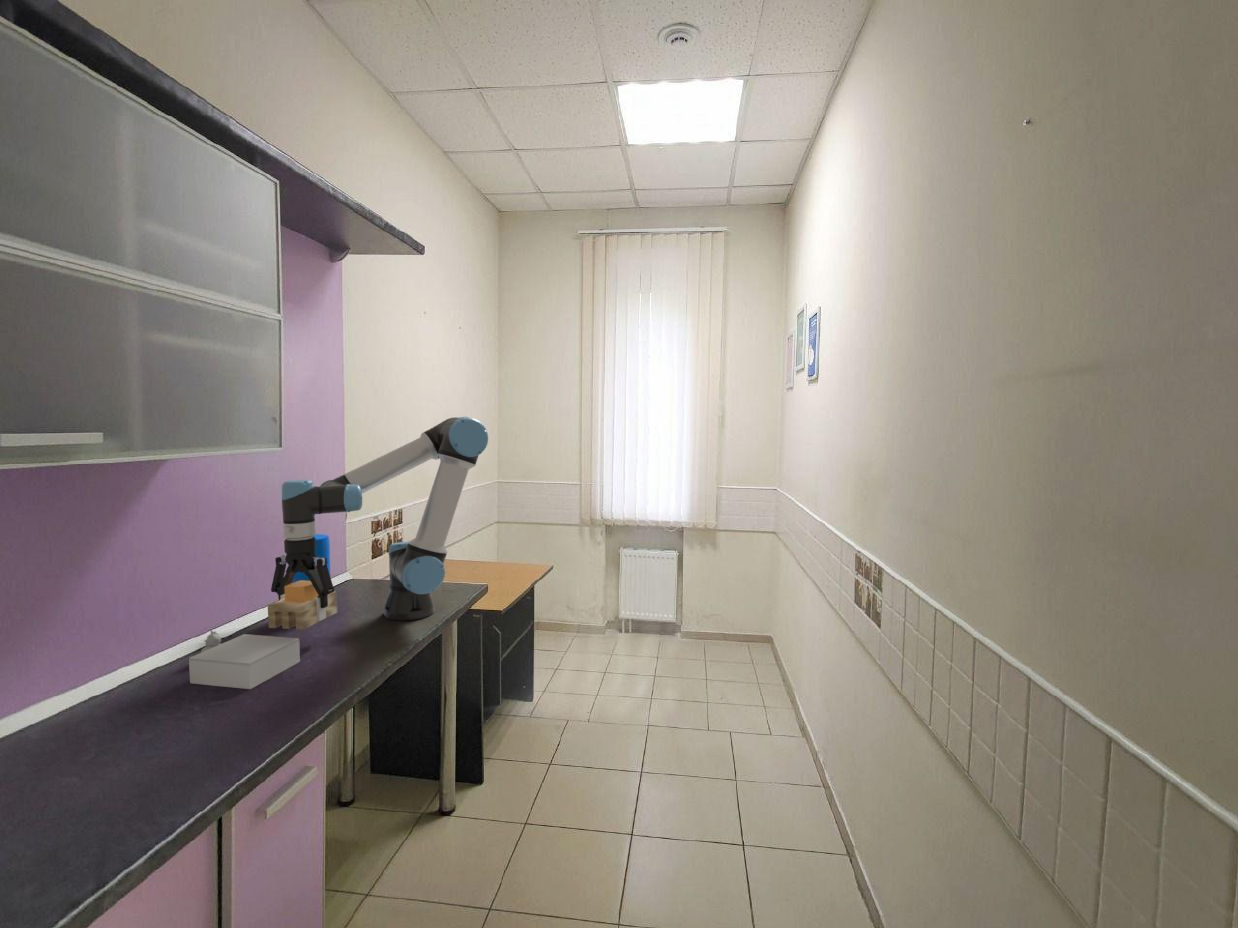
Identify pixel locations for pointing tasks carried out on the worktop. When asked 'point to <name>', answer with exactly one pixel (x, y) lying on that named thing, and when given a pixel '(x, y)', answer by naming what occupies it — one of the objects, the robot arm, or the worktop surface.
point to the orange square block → (300, 591)
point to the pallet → (298, 613)
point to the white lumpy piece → (212, 641)
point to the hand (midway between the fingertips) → (303, 618)
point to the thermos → (317, 555)
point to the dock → (244, 661)
